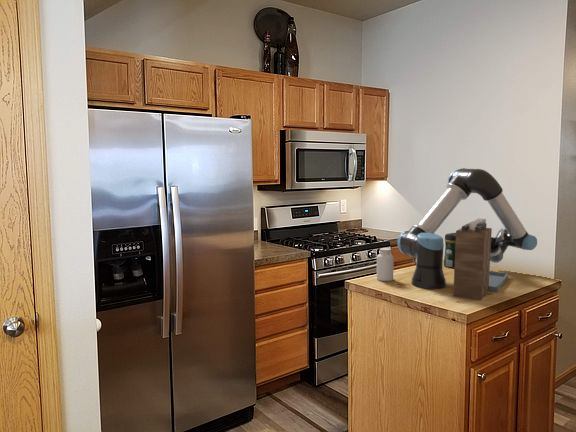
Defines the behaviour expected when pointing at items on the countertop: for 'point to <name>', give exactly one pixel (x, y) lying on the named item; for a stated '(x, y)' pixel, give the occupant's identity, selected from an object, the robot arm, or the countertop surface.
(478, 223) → the steel bar
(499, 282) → the slate tray
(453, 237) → the coffee jar
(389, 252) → the pill bottle
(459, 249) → the walnut stand
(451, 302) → the countertop surface
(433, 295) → the countertop surface
